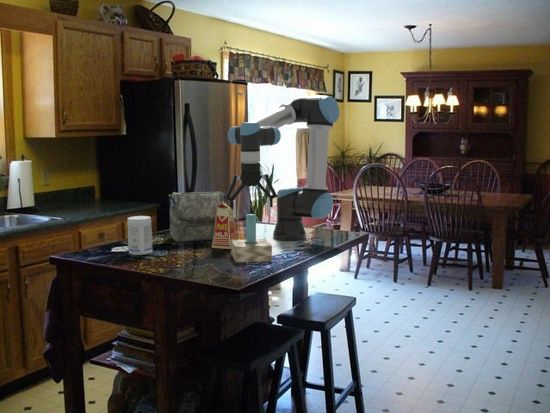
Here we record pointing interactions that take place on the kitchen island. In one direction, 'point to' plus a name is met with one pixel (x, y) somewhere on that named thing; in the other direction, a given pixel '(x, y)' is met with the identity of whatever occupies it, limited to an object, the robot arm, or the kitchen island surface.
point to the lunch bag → (194, 215)
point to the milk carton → (224, 227)
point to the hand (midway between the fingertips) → (251, 216)
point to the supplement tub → (139, 235)
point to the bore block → (251, 251)
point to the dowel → (250, 229)
